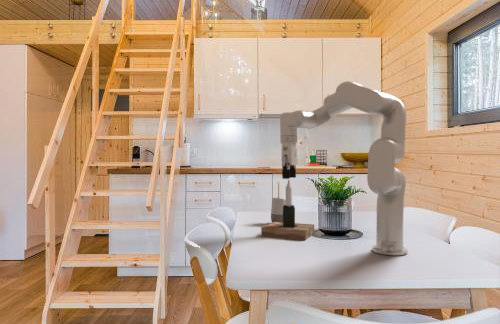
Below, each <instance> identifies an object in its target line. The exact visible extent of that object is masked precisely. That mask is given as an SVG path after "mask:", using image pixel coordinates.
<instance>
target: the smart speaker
mask: <svg viewBox="0 0 500 324" xmlns="http://www.w3.org/2000/svg"><path fill="white" fill-rule="evenodd" d="M284 205H286V198H280V197H279V198H278V197H272V199H271V210H270V220H271V223H272V222H283V206H284Z"/></svg>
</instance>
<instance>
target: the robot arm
mask: <svg viewBox="0 0 500 324" xmlns="http://www.w3.org/2000/svg"><path fill="white" fill-rule="evenodd" d="M353 108H354V109H356V110H358V111H360V112H364V113H366V114H369V115H376V116H381V117H382V118H383V120H382V124H381V128H380V138H378V139H376V140H374V141H373V142H372V143H371V145H370V146H369V147H370V148H369V151H368V156H367V157H368V159H367V174H366V175H367V186H368V188H369V190H370V191H371V192H372V193H374V194H376V195H377V198H376V220H375V221H376V226H375V227H376V232H375V233H376V235H375V237H376V239H375V241H376V243H375V245H373V246H372V247H371V251H372V252H374V253H376V254H380V255H385V256H405V255H407V254H408V248H406V247H404V209H405V207H404V205H405V203H404V202H405V192H406V177H405V175H404V173H403V171H401V170H400V169H398V168H396V167H395V165H396V164H398V163H400V162H401V161H402V160H403V158H404V156H405V146H406V125H407V110H406V107H405V105H404V103H403V102H402V101H401V100H400V99H399V98H397V97H396V96H393V95H391V94H388V93H386V92H382V91H378V90H375V89H372V88H369V87H365V86H363V85H362V84H360V83H357V82H353V81H343V82H341V83H340V84H338V86H337V87H336V88H335V92H334V93H332V94H329V95H328V96H326V97H324V99H323V105H322V106H321V107H318V108H317V109H314V110H312V111H308V110H302V109H301V110H295V111H291V112H290V111H289V112H283V113H281V114H280V117H279V121H280V122H279V123H280V124H279V130H280V131H279V133H280V134H279V135H280V140H279V141H280V145H281V169H282V170H281V171H282V173H281V176H282V177H281V178H282V179H283V180H285V179H286V180H290V179H291V178H293V179H294V178H296V177H297V167H296V166H297V165H298V163H299V162H298V149H297V148H298V147H297V144H298V129H299V128H300V129H315V128H317V127H320V126H322V125H324V124H325V123H326V124H327V122H329V121H331V120H332V119H333V118H334V117H335V116H337V115H339V114H341V113H343V112H346V111H348V110H350V109H353Z"/></svg>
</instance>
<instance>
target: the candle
mask: <svg viewBox="0 0 500 324" xmlns="http://www.w3.org/2000/svg"><path fill="white" fill-rule="evenodd" d="M290 181H291V180H290V179H287V184H286V186H285V200H286V205H284V206H283V227H288V228H294V227H295V223H296V208H295V206H294V204H293V187H292V185H291V182H290Z"/></svg>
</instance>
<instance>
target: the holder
mask: <svg viewBox="0 0 500 324" xmlns="http://www.w3.org/2000/svg"><path fill="white" fill-rule="evenodd" d="M260 229H261V232H260V233H261V234H260V235H261V237H265V238H274V239H275V238H276V239H287V240H298V241H306V240H308V239H309V238H310V237H312V234H313V233H314V234H315V224H311V223H299V222H295V227H294V228H288V227H283V222H272V221H271V222H270V223H267V224H265V225H263V226H261V227H260ZM314 234H313V235H314Z"/></svg>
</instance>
